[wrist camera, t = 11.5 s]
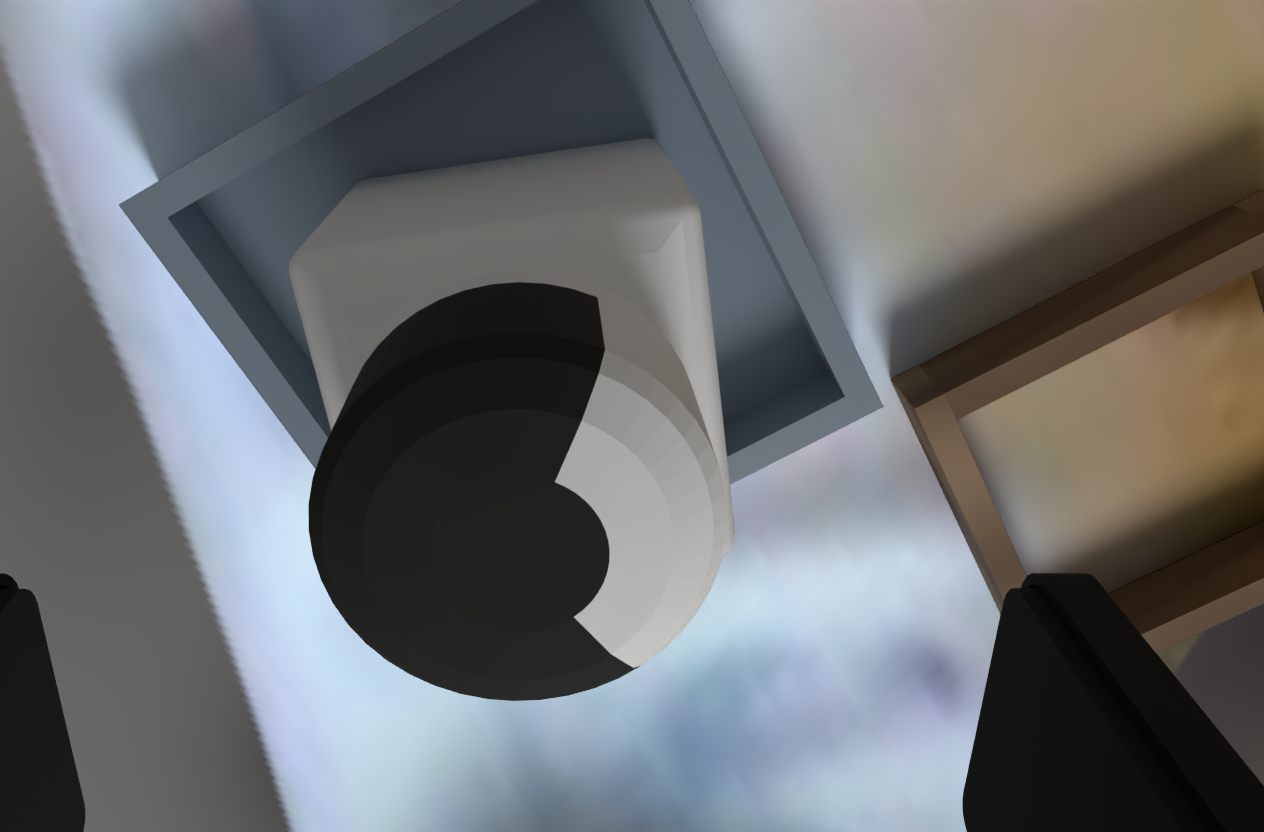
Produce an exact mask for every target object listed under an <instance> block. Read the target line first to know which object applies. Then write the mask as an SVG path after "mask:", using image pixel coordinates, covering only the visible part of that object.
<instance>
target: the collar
mask: <svg viewBox="0 0 1264 832" xmlns="http://www.w3.org/2000/svg"><path fill="white" fill-rule="evenodd" d="M1251 272H1252V273H1253V276H1254V280H1255V283H1256V286H1257V290H1258V293H1259V296H1260V300H1261V303H1262V306H1263V310H1264V190H1261V191H1259V192H1257V193H1255V194H1253V195H1251V196H1249V197H1247V198H1245V199H1243V200H1241V201H1239V202H1238V203H1236V204H1234V205H1232V206H1230V207H1228V208H1226V209H1224V210H1222V211H1220V212H1218V213H1216V214H1214V215H1212V216H1210V217H1208V218H1206V219H1204V220H1202V221H1200V222H1198V223H1196V224H1194V225H1192V226H1190V227H1189V228H1187V229H1185V230H1183V231H1181V232H1179V233H1177V234H1175V235H1173V236H1171V237H1169V238H1167V239H1165V240H1163V241H1161V242H1159V243H1157V244H1155V245H1153V246H1151V247H1149V248H1147V249H1145V250H1143V251H1142V252H1140V253H1138V254H1136V255H1134V256H1132V257H1130V258H1128V259H1126V260H1124V261H1122V262H1120V263H1118V264H1116V265H1114V266H1112V267H1110V268H1108V269H1106V270H1104V271H1102V272H1100V273H1098V274H1096V275H1095V276H1093V277H1091V278H1089V279H1087V280H1085V281H1083V282H1081V283H1079V284H1077V285H1075V286H1073V287H1071V288H1069V289H1067V290H1065V291H1063V292H1061V293H1059V294H1057V295H1055V296H1053V297H1051V298H1049V299H1047V300H1046V301H1044V302H1042V303H1040V304H1038V305H1036V306H1034V307H1032V308H1030V309H1028V310H1026V311H1024V312H1022V313H1020V314H1018V315H1016V316H1014V317H1012V318H1010V319H1008V320H1006V321H1004V322H1002V323H1000V324H999V325H997V326H995V327H993V328H991V329H989V330H987V331H985V332H983V333H981V334H979V335H977V336H975V337H973V338H971V339H969V340H967V341H965V342H963V343H961V344H959V345H957V346H955V347H953V348H951V349H950V350H948V351H946V352H944V353H942V354H940V355H938V356H936V357H934V358H932V359H930V360H928V361H926V362H924V363H922V364H920V365H918V366H916V367H914V368H912V369H910V370H908V371H906V372H904V373H903V374H901V375H899V376H897V377H895V378H893V379H891V382H892V384H893V386H894V388H895V390H896V392H897V394H898V397H899V399H900V401H901V403H902V405H903V407H904V409H905V411H906V414H907V416H908V418H909V420H910V422H911V424H912V426H913V428H914V431H915V433H916V435H917V437H918V439H919V441H920V443H921V446H922V448H923V450H924V452H925V454H926V456H927V458H928V460H929V463H930V465H931V467H932V469H933V471H934V473H935V475H936V477H937V480H938V482H939V484H940V486H941V488H942V490H943V492H944V494H945V497H946V499H947V501H948V503H949V505H950V507H951V509H952V511H953V514H954V516H955V518H956V520H957V522H958V524H959V526H960V529H961V531H962V533H963V535H964V537H965V539H966V541H967V543H968V546H969V548H970V550H971V552H972V554H973V556H974V558H975V560H976V563H977V565H978V567H979V569H980V571H981V573H982V575H983V577H984V580H985V582H986V584H987V586H988V588H989V590H990V592H991V595H992V597H993V599H994V601H995V603H996V605H997V607H998V609H999V612H1000V614H1001V611H1002V606H1003V602H1004V598H1005V595H1006V594H1007V592H1008V591H1009V590H1010V589H1012V588H1021V586H1022V583H1023V581H1024V580H1025V578H1026V577H1027V576H1026V574H1025V572H1024V569H1023V567H1022V565H1021V563H1020V560H1019V558H1018V556H1017V554H1016V551H1015V549H1014V547H1013V545H1012V543H1011V540H1010V538H1009V536H1008V534H1007V531H1006V529H1005V527H1004V525H1003V523H1002V520H1001V518H1000V516H999V514H998V511H997V509H996V507H995V505H994V503H993V500H992V498H991V496H990V494H989V491H988V489H987V487H986V485H985V482H984V480H983V478H982V476H981V474H980V471H979V469H978V467H977V465H976V462H975V460H974V458H973V456H972V454H971V451H970V449H969V447H968V445H967V442H966V440H965V438H964V436H963V434H962V431H961V429H960V427H959V425H958V422H957V419H959V418H961V417H963V416H965V415H967V414H969V413H971V412H973V411H975V410H977V409H979V408H981V407H983V406H985V405H987V404H989V403H991V402H993V401H995V400H997V399H999V398H1001V397H1003V396H1005V395H1007V394H1009V393H1011V392H1013V391H1015V390H1017V389H1019V388H1021V387H1023V386H1025V385H1027V384H1029V383H1031V382H1033V381H1035V380H1037V379H1039V378H1041V377H1043V376H1045V375H1047V374H1049V373H1051V372H1053V371H1055V370H1057V369H1059V368H1061V367H1063V366H1065V365H1067V364H1069V363H1071V362H1073V361H1075V360H1077V359H1079V358H1081V357H1083V356H1085V355H1087V354H1089V353H1091V352H1093V351H1095V350H1097V349H1099V348H1101V347H1103V346H1105V345H1107V344H1109V343H1111V342H1113V341H1115V340H1117V339H1119V338H1121V337H1123V336H1125V335H1127V334H1129V333H1131V332H1133V331H1135V330H1137V329H1139V328H1141V327H1143V326H1145V325H1147V324H1149V323H1151V322H1153V321H1155V320H1157V319H1159V318H1161V317H1163V316H1165V315H1167V314H1169V313H1171V312H1173V311H1175V310H1177V309H1179V308H1181V307H1183V306H1185V305H1187V304H1189V303H1191V302H1193V301H1195V300H1197V299H1199V298H1201V297H1203V296H1205V295H1207V294H1209V293H1211V292H1213V291H1215V290H1217V289H1219V288H1221V287H1223V286H1225V285H1227V284H1229V283H1231V282H1233V281H1235V280H1237V279H1239V278H1241V277H1243V276H1245V275H1247V274H1249V273H1251ZM1109 595H1110V597H1111V598H1112V599H1113V600H1114V602H1115V603H1116V604H1117V605H1118V607H1119V608H1120V609H1121V610H1122V612H1123V613H1124V614H1125V615H1126V616H1127V618H1128V619H1129V620H1130V621H1131V623H1132V624H1133V625H1134V626H1135V628H1136V629H1137V630H1138V631H1139V633H1140V634H1141V635H1142V636H1143V638H1144V639H1145V640H1146V641H1147V642H1148V644H1149V645H1150V646H1151V647H1152V649H1153V650H1154V651H1155V652H1159V651H1161V650H1163V649H1165V648H1167V647H1169V646H1172V645H1174V644H1176V643H1178V642H1180V641H1182V640H1185V639H1187V638H1189V637H1191V636H1193V635H1196V634H1198V633H1200V632H1202V631H1204V630H1206V629H1209V628H1210V627H1213V626H1215V625H1217V624H1219V623H1222V622H1224V621H1226V620H1228V619H1230V618H1232V617H1235V616H1237V615H1239V614H1241V613H1243V612H1245V611H1248V610H1250V609H1252V608H1254V607H1256V606H1259V605H1261V604H1263V603H1264V521H1263V522H1261V523H1259V524H1256V525H1254V526H1252V527H1250V528H1248V529H1246V530H1244V531H1242V532H1239V533H1237V534H1235V535H1233V536H1231V537H1229V538H1227V539H1224V540H1222V541H1220V542H1218V543H1216V544H1214V545H1212V546H1210V547H1207V548H1205V549H1203V550H1201V551H1199V552H1197V553H1195V554H1193V555H1190V556H1188V557H1186V558H1184V559H1182V560H1180V561H1178V562H1175V563H1173V564H1171V565H1169V566H1167V567H1165V568H1163V569H1161V570H1158V571H1156V572H1154V573H1152V574H1150V575H1148V576H1146V577H1144V578H1141V579H1139V580H1137V581H1135V582H1133V583H1131V584H1129V585H1126V586H1124V587H1122V588H1120V589H1118V590H1116V591H1114V592H1112V593H1109Z"/></svg>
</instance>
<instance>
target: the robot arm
mask: <svg viewBox="0 0 1264 832" xmlns="http://www.w3.org/2000/svg"><path fill="white" fill-rule="evenodd" d="M963 815H964V822H965V826H966V830H967V832H1264V786H1263V785H1262V783H1261V782H1260V781H1259V780H1258V778H1257V777H1256V776H1255V775H1254V773H1253V772H1252V771H1251V770H1250V769H1249V767H1248V766H1247V765H1246V764H1245V762H1244V761H1243V760H1242V759H1241V757H1240V756H1239V755H1238V754H1237V752H1236V751H1235V750H1234V749H1233V748H1232V746H1231V745H1230V744H1229V743H1228V741H1227V740H1226V739H1225V738H1224V736H1223V735H1222V734H1221V733H1220V731H1219V730H1218V729H1217V728H1216V727H1215V725H1214V724H1213V723H1212V722H1211V720H1210V719H1209V718H1208V717H1207V715H1206V714H1205V713H1204V712H1203V710H1202V709H1201V708H1200V707H1199V706H1198V704H1197V703H1196V702H1195V701H1194V699H1193V698H1192V697H1191V696H1190V694H1189V693H1188V692H1187V691H1186V689H1185V688H1184V687H1183V686H1182V684H1181V683H1180V682H1179V681H1178V680H1177V678H1176V677H1175V676H1174V675H1173V673H1172V672H1171V671H1170V670H1169V668H1168V667H1167V666H1166V665H1165V663H1164V662H1163V661H1162V660H1161V659H1160V657H1159V656H1158V655H1157V654H1156V652H1155V651H1154V650H1153V649H1152V647H1151V646H1150V645H1149V644H1148V642H1147V641H1146V640H1145V639H1144V638H1143V636H1142V635H1141V634H1140V633H1139V631H1138V630H1137V629H1136V628H1135V626H1134V625H1133V624H1132V623H1131V621H1130V620H1129V619H1128V618H1127V616H1126V615H1125V614H1124V613H1123V612H1122V610H1121V609H1120V608H1119V607H1118V605H1117V604H1116V603H1115V602H1114V600H1113V599H1112V598H1111V597H1110V595H1109V594H1108V593H1107V592H1106V591H1105V589H1104V588H1103V587H1102V586H1101V584H1100V583H1099V582H1098V581H1097V580H1096V579H1095V578H1094V577H1093V576H1092V575H1089V574H1085V573H1032V574H1030V575H1028V576H1027V577H1026V578H1025V580H1024V581H1023V583H1022V586H1021V588H1012V589H1010V590H1009V591H1008V592H1007V594H1006V595H1005V598H1004V602H1003V606H1002V611H1001V616H1000V620H999V625H998V630H997V635H996V640H995V644H994V649H993V654H992V659H991V664H990V668H989V673H988V678H987V683H986V687H985V692H984V697H983V702H982V707H981V711H980V716H979V721H978V726H977V730H976V735H975V740H974V745H973V750H972V754H971V759H970V764H969V769H968V773H967V778H966V783H965V788H964V793H963ZM84 824H85V805H84V801H83V796H82V791H81V787H80V783H79V779H78V774H77V770H76V766H75V762H74V757H73V753H72V749H71V744H70V740H69V736H68V731H67V727H66V723H65V719H64V714H63V710H62V706H61V701H60V697H59V693H58V689H57V685H56V680H55V676H54V672H53V667H52V663H51V659H50V655H49V650H48V646H47V642H46V637H45V633H44V629H43V624H42V620H41V616H40V612H39V607H38V603H37V601H36V598H35V596H34V594H33V593H32V592H31V591H30V590H27V589H19V588H18V585H17V583H16V582H15V580H14V579H13V578H12V577H11V576H9V575H7V574H0V832H83V830H84Z"/></svg>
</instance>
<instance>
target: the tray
mask: <svg viewBox="0 0 1264 832" xmlns="http://www.w3.org/2000/svg"><path fill="white" fill-rule="evenodd" d="M643 138H649V139H655V140H656V141H657V142H658V143H660V144H661V145H662V147H663V149H664V150H665V152H666V153H667V155H668V157H669V158H670V160H671V161H672V163H673V165H674V166H675V168H676V169H677V171H678V173H679V174H680V176H681V177H682V179H683V181H684V182H685V184H686V185H687V187H688V189H689V190H690V192H691V193H692V195H693V197H694V198H695V200H696V201H697V204H698V206H699V209H700V212H701V220H702V229H703V239H704V248H705V257H706V267H707V276H708V285H709V294H710V304H711V313H712V322H713V332H714V341H715V350H716V360H717V369H718V378H719V388H720V397H721V406H722V415H723V425H724V434H725V443H726V453H727V462H728V471H729V481H730V484H732V483H734V482H736V481H738V480H740V479H742V478H744V477H746V476H748V475H750V474H752V473H754V472H756V471H758V470H760V469H762V468H764V467H766V466H768V465H770V464H772V463H774V462H776V461H777V460H779V459H781V458H783V457H785V456H787V455H789V454H791V453H793V452H795V451H797V450H799V449H801V448H803V447H805V446H807V445H809V444H811V443H813V442H815V441H817V440H819V439H821V438H823V437H825V436H827V435H829V434H831V433H833V432H835V431H837V430H839V429H841V428H843V427H844V426H846V425H848V424H850V423H852V422H854V421H856V420H858V419H860V418H862V417H864V416H866V415H868V414H870V413H872V412H874V411H876V410H878V409H880V408H882V407H883V405H882V403H881V401H880V399H879V397H878V394H877V392H876V390H875V388H874V386H873V384H872V382H871V380H870V378H869V376H868V374H867V371H866V369H865V367H864V365H863V363H862V361H861V359H860V357H859V355H858V353H857V351H856V349H855V346H854V344H853V342H852V340H851V338H850V336H849V334H848V332H847V330H846V328H845V326H844V323H843V321H842V319H841V317H840V315H839V313H838V311H837V309H836V307H835V305H834V303H833V300H832V298H831V296H830V294H829V292H828V290H827V288H826V286H825V284H824V282H823V280H822V277H821V275H820V273H819V271H818V269H817V267H816V265H815V263H814V261H813V259H812V257H811V254H810V252H809V250H808V248H807V246H806V244H805V242H804V240H803V238H802V236H801V234H800V231H799V229H798V227H797V225H796V223H795V221H794V219H793V217H792V215H791V213H790V211H789V208H788V206H787V204H786V202H785V200H784V198H783V196H782V194H781V192H780V190H779V188H778V185H777V183H776V181H775V179H774V177H773V175H772V173H771V171H770V169H769V167H768V165H767V162H766V160H765V158H764V156H763V154H762V152H761V150H760V148H759V146H758V144H757V142H756V140H755V137H754V135H753V133H752V131H751V129H750V127H749V125H748V123H747V121H746V119H745V117H744V114H743V112H742V110H741V108H740V106H739V104H738V102H737V100H736V98H735V96H734V94H733V91H732V89H731V87H730V85H729V83H728V81H727V79H726V77H725V75H724V73H723V71H722V68H721V66H720V64H719V62H718V60H717V58H716V56H715V54H714V52H713V50H712V48H711V45H710V43H709V41H708V39H707V37H706V35H705V33H704V31H703V29H702V27H701V25H700V22H699V20H698V18H697V16H696V14H695V12H694V10H693V8H692V6H691V4H690V2H689V0H464V1H462V2H460V3H459V4H457V5H455V6H453V7H452V8H450V9H448V10H447V11H445V12H443V13H442V14H440V15H438V16H437V17H435V18H433V19H432V20H430V21H428V22H426V23H425V24H423V25H421V26H420V27H418V28H416V29H415V30H413V31H411V32H410V33H408V34H406V35H404V36H403V37H401V38H399V39H398V40H396V41H394V42H393V43H391V44H389V45H388V46H386V47H384V48H383V49H381V50H379V51H377V52H376V53H374V54H372V55H371V56H369V57H367V58H366V59H364V60H362V61H361V62H359V63H357V64H356V65H354V66H352V67H350V68H349V69H347V70H345V71H344V72H342V73H340V74H339V75H337V76H335V77H334V78H332V79H330V80H329V81H327V82H325V83H323V84H322V85H320V86H318V87H317V88H315V89H313V90H312V91H310V92H308V93H307V94H305V95H303V96H302V97H300V98H298V99H296V100H295V101H293V102H291V103H290V104H288V105H286V106H285V107H283V108H281V109H280V110H278V111H276V112H274V113H273V114H271V115H269V116H268V117H266V118H264V119H263V120H261V121H259V122H258V123H256V124H254V125H253V126H251V127H249V128H247V129H246V130H244V131H242V132H241V133H239V134H237V135H236V136H234V137H232V138H231V139H229V140H227V141H226V142H224V143H222V144H220V145H219V146H217V147H215V148H214V149H212V150H210V151H209V152H207V153H205V154H204V155H202V156H200V157H199V158H197V159H195V160H193V161H192V162H190V163H188V164H187V165H185V166H183V167H182V168H180V169H178V170H177V171H175V172H173V173H172V174H170V175H168V176H166V177H165V178H163V179H161V180H160V181H158V182H156V183H155V184H153V185H151V186H150V187H148V188H146V189H144V190H143V191H141V192H139V193H138V194H136V195H134V196H133V197H131V198H129V199H128V200H126V201H124V202H123V203H121V204H119V206H120V207H121V209H122V210H123V211H124V213H125V214H126V215H127V217H128V218H129V220H130V221H131V222H132V224H133V225H134V226H135V228H136V229H137V230H138V232H139V233H140V234H141V236H142V237H143V238H144V240H145V241H146V242H147V244H148V245H149V246H150V248H151V249H152V250H153V252H154V253H155V254H156V256H157V257H158V258H159V260H160V261H161V262H162V264H163V265H164V266H165V268H166V269H167V270H168V272H169V273H170V275H171V276H172V277H173V279H174V280H175V281H176V283H177V284H178V285H179V287H180V288H181V289H182V291H183V292H184V293H185V295H186V296H187V297H188V299H189V300H190V301H191V303H192V304H193V305H194V307H195V308H196V309H197V311H198V312H199V313H200V315H201V316H202V317H203V319H204V320H205V321H206V323H207V324H208V325H209V327H210V328H211V329H212V331H213V332H214V334H215V335H216V336H217V338H218V339H219V340H220V342H221V343H222V344H223V346H224V347H225V348H226V350H227V351H228V352H229V354H230V355H231V356H232V358H233V359H234V360H235V362H236V363H237V364H238V366H239V367H240V368H241V370H242V371H243V372H244V374H245V375H246V376H247V378H248V379H249V380H250V382H251V383H252V384H253V386H254V387H255V388H256V390H257V391H258V393H259V394H260V395H261V397H262V398H263V399H264V401H265V402H266V403H267V405H268V406H269V407H270V409H271V410H272V411H273V413H274V414H275V415H276V417H277V418H278V419H279V421H280V422H281V423H282V425H283V426H284V427H285V429H286V430H287V431H288V433H289V434H290V435H291V437H292V438H293V439H294V441H295V442H296V443H297V445H298V446H299V448H300V449H301V450H302V452H303V453H304V454H305V456H306V457H307V458H308V460H309V461H310V462H311V464H312V465H313V466H314V468H315V469H316V467H317V464H318V461H319V458H320V455H321V452H322V450H323V448H324V446H325V443H326V441H327V439H328V437H329V435H330V433H331V428H330V425H329V421H328V417H327V413H326V410H325V406H324V402H323V398H322V395H321V391H320V387H319V383H318V380H317V376H316V372H315V369H314V365H313V361H312V357H311V354H310V350H309V346H308V342H307V339H306V335H305V331H304V327H303V324H302V320H301V316H300V312H299V309H298V305H297V301H296V297H295V294H294V290H293V286H292V282H291V279H290V275H289V261H290V260H291V258H292V257H293V255H294V254H295V252H296V251H297V250H298V249H299V248H300V247H301V246H302V244H303V243H304V242H305V241H306V240H307V239H308V238H309V236H310V235H311V234H312V233H313V232H314V231H315V230H316V229H317V227H318V226H319V225H320V224H321V223H322V222H323V221H324V220H325V218H326V217H327V216H328V215H329V214H330V213H331V212H332V210H333V209H334V208H335V207H336V206H337V205H338V204H339V203H340V201H341V200H342V199H343V198H344V197H345V196H346V195H347V194H348V192H349V191H350V190H351V189H352V188H353V187H354V186H355V184H356V183H357V182H360V181H362V180H364V179H370V178H377V177H383V176H390V175H397V174H404V173H411V172H418V171H424V170H431V169H438V168H445V167H452V166H459V165H465V164H472V163H479V162H486V161H493V160H499V159H506V158H513V157H520V156H527V155H534V154H540V153H547V152H554V151H561V150H568V149H575V148H581V147H588V146H595V145H602V144H609V143H615V142H622V141H629V140H636V139H643Z"/></svg>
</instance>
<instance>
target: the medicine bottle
mask: <svg viewBox="0 0 1264 832" xmlns="http://www.w3.org/2000/svg"><path fill="white" fill-rule="evenodd" d="M289 275H290V279H291V282H292V286H293V290H294V294H295V297H296V301H297V305H298V309H299V312H300V316H301V320H302V324H303V327H304V331H305V335H306V339H307V342H308V346H309V350H310V354H311V357H312V361H313V365H314V369H315V372H316V376H317V380H318V383H319V387H320V391H321V395H322V398H323V402H324V406H325V410H326V413H327V417H328V421H329V425H330V428H331V433H330V435H329V437H328V439H327V441H326V443H325V446H324V448H323V450H322V452H321V455H320V458H319V461H318V464H317V467H316V470H315V473H314V476H313V481H312V487H311V493H310V499H309V534H310V540H311V546H312V552H313V557H314V560H315V563H316V566H317V569H318V572H319V575H320V578H321V581H322V583H323V584H324V586H325V588H326V590H327V592H328V594H329V596H330V598H331V600H332V602H333V604H334V605H335V607H336V608H337V609H338V611H339V612H340V614H341V615H342V616H343V618H344V619H345V621H346V622H347V623H348V625H349V626H350V627H351V628H352V629H353V630H354V631H355V632H356V633H357V634H358V635H359V636H360V637H361V638H362V640H363V641H364V642H365V643H366V644H367V645H369V646H370V647H371V648H372V649H374V650H375V651H376V652H377V653H379V654H380V655H381V656H382V657H384V658H385V659H386V660H387V661H389V662H391V663H392V664H394V665H396V666H397V667H399V668H400V669H402V670H404V671H405V672H407V673H409V674H410V675H413V676H415V677H417V678H419V679H421V680H424V681H426V682H428V683H430V684H432V685H435V686H438V687H441V688H444V689H447V690H451V691H454V692H457V693H460V694H465V695H470V696H476V697H481V698H486V699H497V700H510V701H521V700H542V699H548V698H555V697H561V696H568V695H571V694H575V693H579V692H582V691H586V690H590V689H593V688H596V687H598V686H601V685H603V684H606V683H608V682H611V681H613V680H615V679H618V678H620V677H622V676H623V675H625V674H627V673H629V672H631V671H632V670H634V669H636V668H638V667H640V666H641V665H643V664H644V663H645V662H647V661H648V660H650V659H651V658H652V657H654V656H655V655H656V654H658V653H659V652H661V651H662V650H663V649H664V648H665V647H666V646H667V645H668V644H669V643H670V642H671V641H672V640H674V639H675V638H676V637H677V636H678V635H679V634H680V633H681V632H682V630H683V629H684V628H685V627H686V625H687V624H688V623H689V622H690V620H691V619H692V618H693V617H694V616H695V614H696V613H697V611H698V610H699V608H700V606H701V605H702V603H703V601H704V600H705V598H706V596H707V595H708V593H709V591H710V589H711V586H712V584H713V582H714V579H715V577H716V574H717V572H718V569H719V566H720V562H721V558H722V554H724V553H727V552H728V551H729V550H730V549H731V547H732V546H733V542H734V537H735V527H734V518H733V508H732V499H731V490H730V481H729V471H728V462H727V453H726V443H725V434H724V425H723V415H722V406H721V397H720V388H719V378H718V369H717V360H716V350H715V341H714V332H713V322H712V313H711V304H710V294H709V285H708V276H707V267H706V257H705V248H704V239H703V229H702V220H701V212H700V209H699V206H698V204H697V201H696V200H695V198H694V197H693V195H692V193H691V192H690V190H689V189H688V187H687V185H686V184H685V182H684V181H683V179H682V177H681V176H680V174H679V173H678V171H677V169H676V168H675V166H674V165H673V163H672V161H671V160H670V158H669V157H668V155H667V153H666V152H665V150H664V149H663V147H662V145H661V144H660V143H658V142H657V141H656V140H655V139H649V138H643V139H636V140H629V141H622V142H615V143H609V144H602V145H595V146H588V147H581V148H575V149H568V150H561V151H554V152H547V153H540V154H534V155H527V156H520V157H513V158H506V159H499V160H493V161H486V162H479V163H472V164H465V165H459V166H452V167H445V168H438V169H431V170H424V171H418V172H411V173H404V174H397V175H390V176H383V177H377V178H370V179H364V180H362V181H360V182H357V183H356V184H355V186H354V187H353V188H352V189H351V190H350V191H349V192H348V194H347V195H346V196H345V197H344V198H343V199H342V200H341V201H340V203H339V204H338V205H337V206H336V207H335V208H334V209H333V210H332V212H331V213H330V214H329V215H328V216H327V217H326V218H325V220H324V221H323V222H322V223H321V224H320V225H319V226H318V227H317V229H316V230H315V231H314V232H313V233H312V234H311V235H310V236H309V238H308V239H307V240H306V241H305V242H304V243H303V244H302V246H301V247H300V248H299V249H298V250H297V251H296V252H295V254H294V255H293V257H292V258H291V260H290V261H289Z"/></svg>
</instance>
